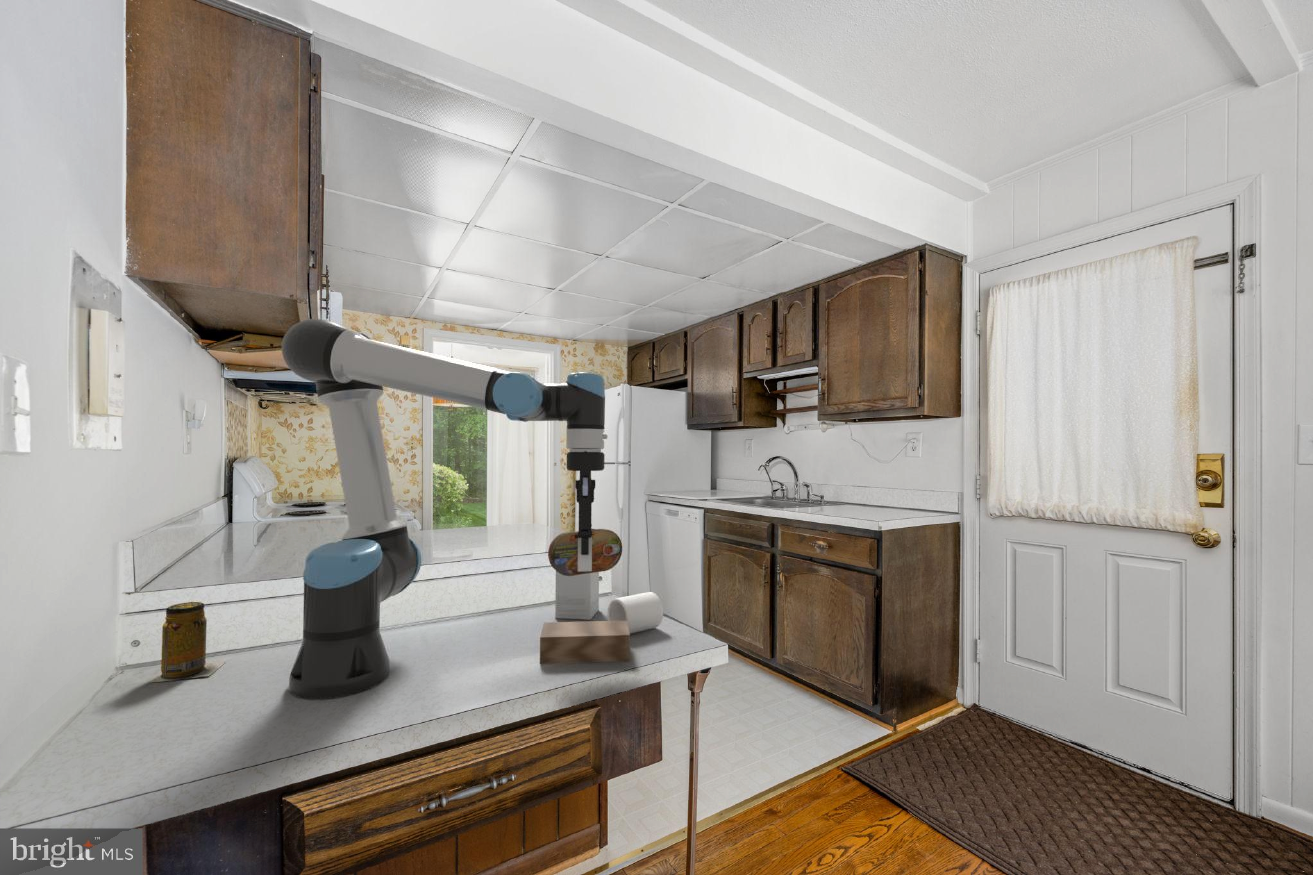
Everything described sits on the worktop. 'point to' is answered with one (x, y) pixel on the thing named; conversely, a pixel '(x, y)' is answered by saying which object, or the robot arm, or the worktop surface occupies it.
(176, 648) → the condiment
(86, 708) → the worktop surface
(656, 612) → the mug
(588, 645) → the plinth
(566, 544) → the tin
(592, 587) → the supplement box
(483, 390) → the robot arm
